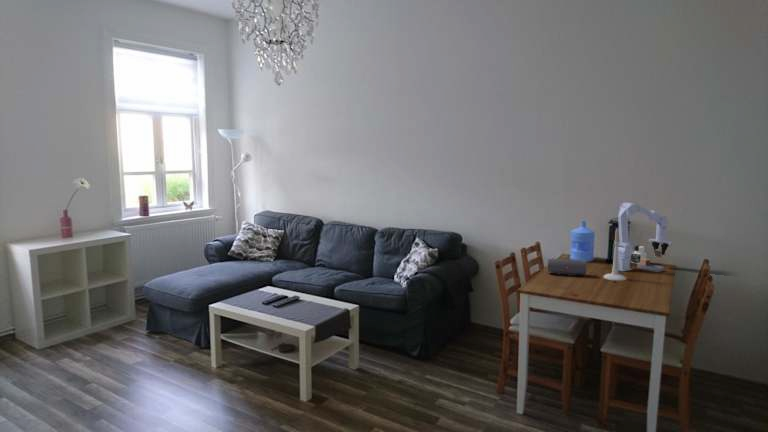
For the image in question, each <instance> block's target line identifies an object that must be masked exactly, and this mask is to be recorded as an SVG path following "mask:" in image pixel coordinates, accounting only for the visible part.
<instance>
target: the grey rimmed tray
mask: <svg viewBox="0 0 768 432" xmlns="http://www.w3.org/2000/svg"><path fill="white" fill-rule="evenodd" d="M636 268H637V269H641V270H645V271H649V272H655V273H659V272H664V269H665V267H664V266H661V265H657V264H656V265H655V264H651V259H649V258H648V259H640V264H636Z"/></svg>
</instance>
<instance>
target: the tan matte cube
mask: <svg viewBox="0 0 768 432" xmlns="http://www.w3.org/2000/svg"><path fill="white" fill-rule="evenodd" d="M665 254H666V253H665ZM665 254H664V255H662V248H658V249H655V251H654V257H655V258H659V259H661V258H665Z"/></svg>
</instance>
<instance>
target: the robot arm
mask: <svg viewBox="0 0 768 432" xmlns="http://www.w3.org/2000/svg"><path fill="white" fill-rule="evenodd" d="M636 213H641V214H643V215H645V216H646V217H647V219H649V220H650V221H653V222H654V223H655V224H656V228H655V238H649V239H648V242H649V243H650V242H651V245H652V247H653V251H654V252H655V249H659V247H661V248H660V249H662V255H664V254H666V250H667V249H668V247H669V246H670V245H673V242H672V241H670V240H666V236H667V226H668V224H669V222H670V220H669V218H668V217H667V216H665V215H663V214H662V213H659V212H657V210H649V209H647V208H645V207H643V206H641V205H640V204H637V203H634V202H633V203H632V202H627V201H625V202H623V203H621V204H620V206H619V212H618V215H617V222H618V231H619V245H618V271H620V272H626V271H628V272H629V271H632V270H633V268H631V255H632V254H633V252H634V249H633V248H632V245H631V243H630V240H629V238H630V237H629V221H628V219H629V218H630V216H632V215H634V214H636Z"/></svg>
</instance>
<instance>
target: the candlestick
mask: <svg viewBox="0 0 768 432" xmlns="http://www.w3.org/2000/svg"><path fill="white" fill-rule="evenodd" d="M614 234H615V237H614V240H613V244H614V252H613V261H612V269H611V273H606V274H604V275H603V278H604V279H605V280H609V281H616V282H620V281H621V282H622V281H626V280H627V277H626V276H625V275H623V274H620V272H619V270H618V245H619V242H620V240H619V230H615V233H614Z"/></svg>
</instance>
